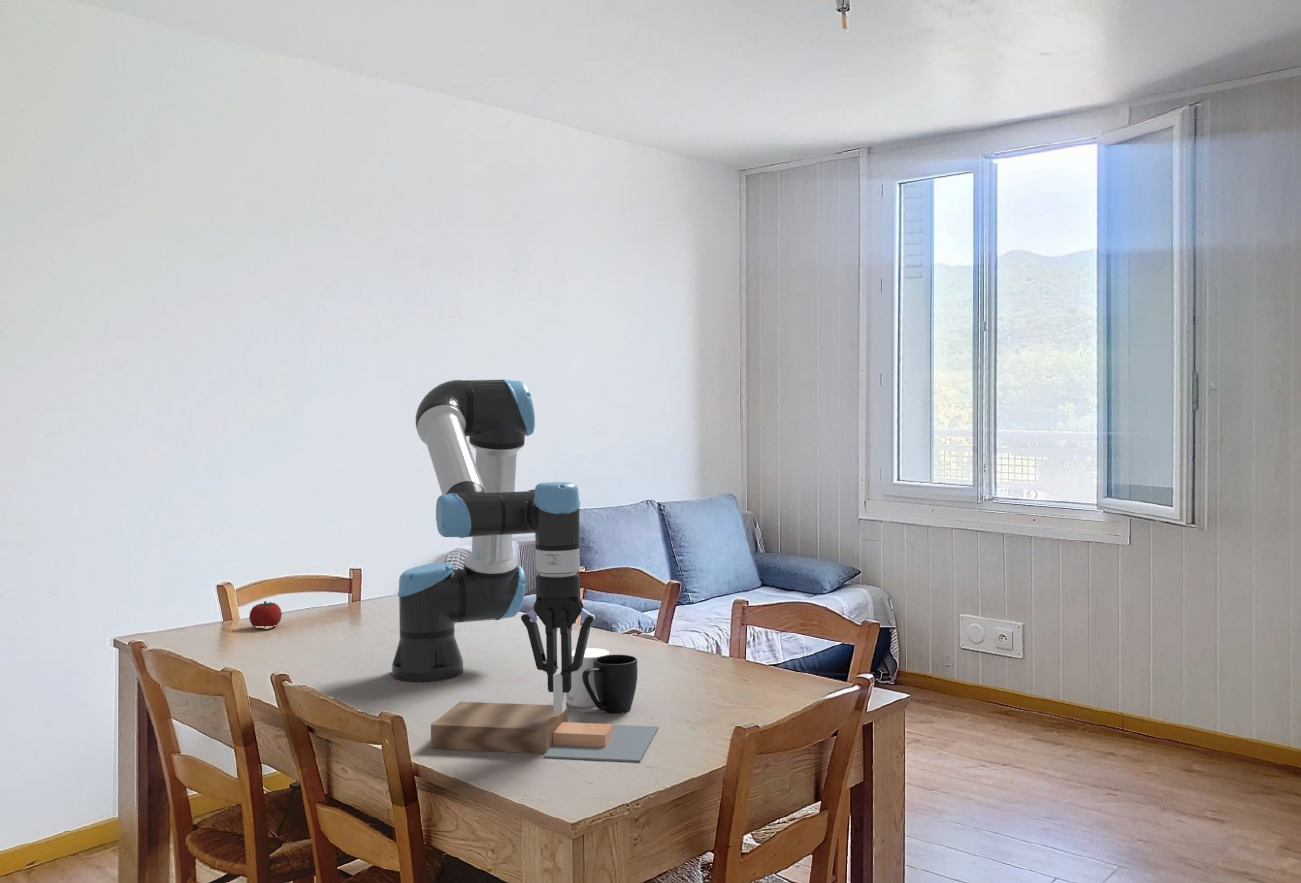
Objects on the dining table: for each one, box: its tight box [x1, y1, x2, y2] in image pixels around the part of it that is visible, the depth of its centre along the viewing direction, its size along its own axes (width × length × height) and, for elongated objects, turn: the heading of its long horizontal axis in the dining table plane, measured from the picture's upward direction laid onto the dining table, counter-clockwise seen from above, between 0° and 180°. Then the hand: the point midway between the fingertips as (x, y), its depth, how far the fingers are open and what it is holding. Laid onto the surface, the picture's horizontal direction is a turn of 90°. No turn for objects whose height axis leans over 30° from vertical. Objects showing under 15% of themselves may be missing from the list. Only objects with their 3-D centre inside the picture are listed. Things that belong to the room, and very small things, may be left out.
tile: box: [553, 721, 614, 747], centre depth 176 cm, size 9×6×2 cm, turn 80°
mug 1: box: [560, 647, 610, 708], centre depth 201 cm, size 12×9×8 cm
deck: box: [430, 701, 569, 755], centre depth 179 cm, size 20×14×4 cm
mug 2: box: [582, 654, 638, 715], centre depth 194 cm, size 8×12×10 cm
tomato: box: [248, 600, 283, 627], centre depth 275 cm, size 8×8×7 cm
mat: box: [542, 724, 660, 763], centre depth 176 cm, size 16×18×1 cm
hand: (560, 710), depth 177 cm, fingers closed
